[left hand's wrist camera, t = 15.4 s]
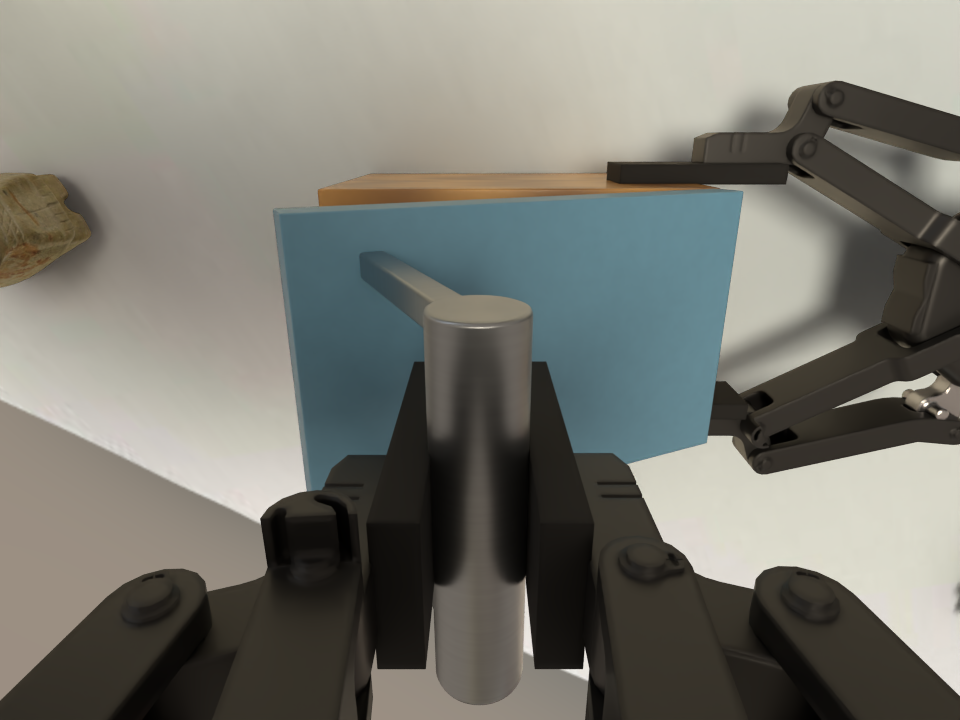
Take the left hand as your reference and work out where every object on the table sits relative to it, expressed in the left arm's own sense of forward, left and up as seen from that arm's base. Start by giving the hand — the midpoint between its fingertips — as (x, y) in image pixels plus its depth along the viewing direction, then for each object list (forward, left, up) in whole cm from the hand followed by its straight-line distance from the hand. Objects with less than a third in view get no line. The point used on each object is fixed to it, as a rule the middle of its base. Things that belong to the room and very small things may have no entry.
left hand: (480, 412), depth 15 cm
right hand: (+5, +3, -12) cm, 13 cm away
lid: (+1, +1, -5) cm, 5 cm away
